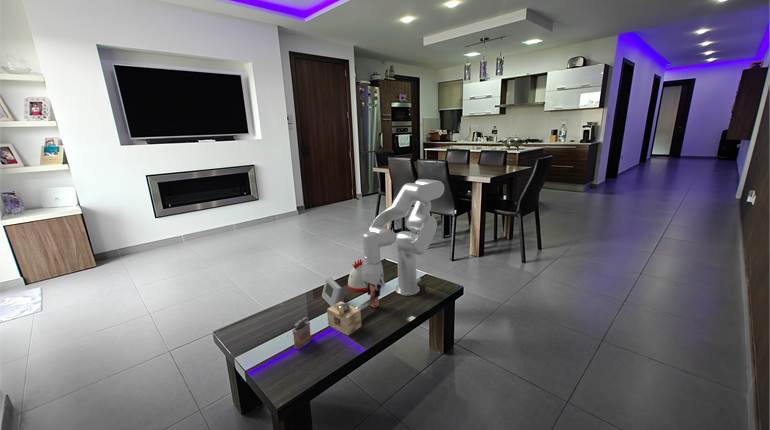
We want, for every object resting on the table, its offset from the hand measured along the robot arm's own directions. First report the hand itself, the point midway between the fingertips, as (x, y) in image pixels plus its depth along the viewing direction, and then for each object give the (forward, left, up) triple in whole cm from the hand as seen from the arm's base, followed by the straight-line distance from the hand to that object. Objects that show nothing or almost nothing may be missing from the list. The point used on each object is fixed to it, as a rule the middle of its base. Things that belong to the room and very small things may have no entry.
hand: (374, 294), depth 150 cm
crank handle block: (+21, +2, +2) cm, 22 cm away
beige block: (+19, 0, -6) cm, 20 cm away
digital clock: (+9, -20, -7) cm, 23 cm away
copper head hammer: (+8, 0, -6) cm, 10 cm away
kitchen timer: (-13, -21, -7) cm, 25 cm away
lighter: (+37, -5, -6) cm, 38 cm away
